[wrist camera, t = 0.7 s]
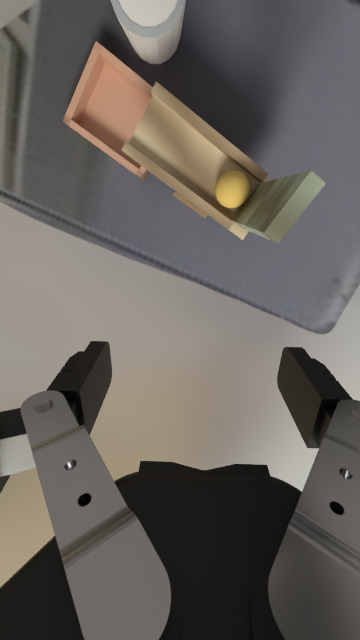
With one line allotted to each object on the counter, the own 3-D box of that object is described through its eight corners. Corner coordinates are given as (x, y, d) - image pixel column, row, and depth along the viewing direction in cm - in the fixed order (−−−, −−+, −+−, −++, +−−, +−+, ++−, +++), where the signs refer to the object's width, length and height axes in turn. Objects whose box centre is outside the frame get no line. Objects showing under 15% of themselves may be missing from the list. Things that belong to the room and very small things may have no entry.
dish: (103, 55, 31) (95, 40, 28) (179, 116, 33) (179, 108, 30) (72, 128, 33) (62, 121, 31) (144, 180, 36) (141, 178, 33)
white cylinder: (115, -4, 29) (96, -62, 22) (179, -21, 28) (179, -87, 22) (132, 78, 31) (119, 46, 25) (191, 63, 31) (193, 26, 24)
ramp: (158, 91, 25) (135, -11, 13) (277, 188, 28) (347, 178, 16) (125, 154, 27) (81, 115, 15) (240, 238, 30) (279, 262, 18)
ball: (226, 165, 26) (232, 160, 24) (252, 185, 27) (260, 183, 24) (207, 195, 28) (210, 194, 25) (232, 214, 28) (238, 215, 25)
